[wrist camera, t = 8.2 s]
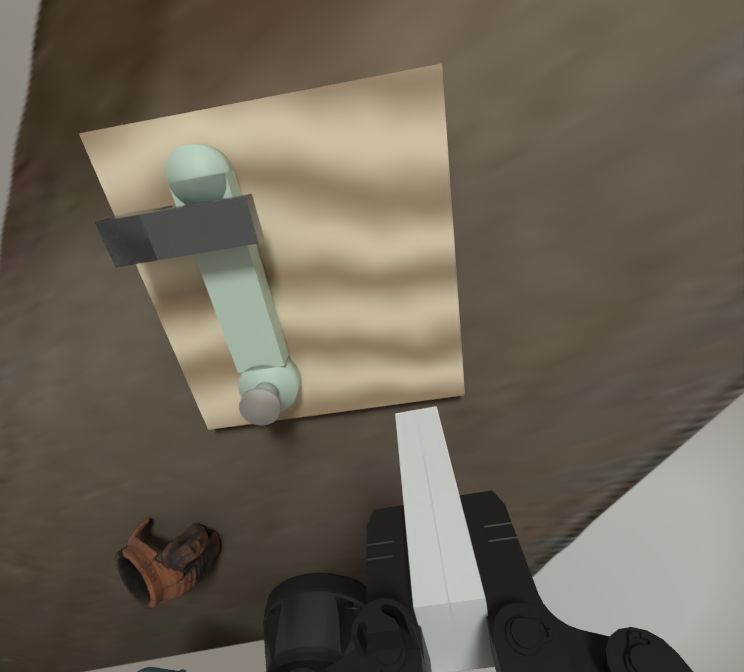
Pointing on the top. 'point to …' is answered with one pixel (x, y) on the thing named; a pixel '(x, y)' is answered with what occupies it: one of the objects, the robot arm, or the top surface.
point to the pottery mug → (166, 564)
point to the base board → (315, 242)
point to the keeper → (181, 230)
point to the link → (235, 278)
